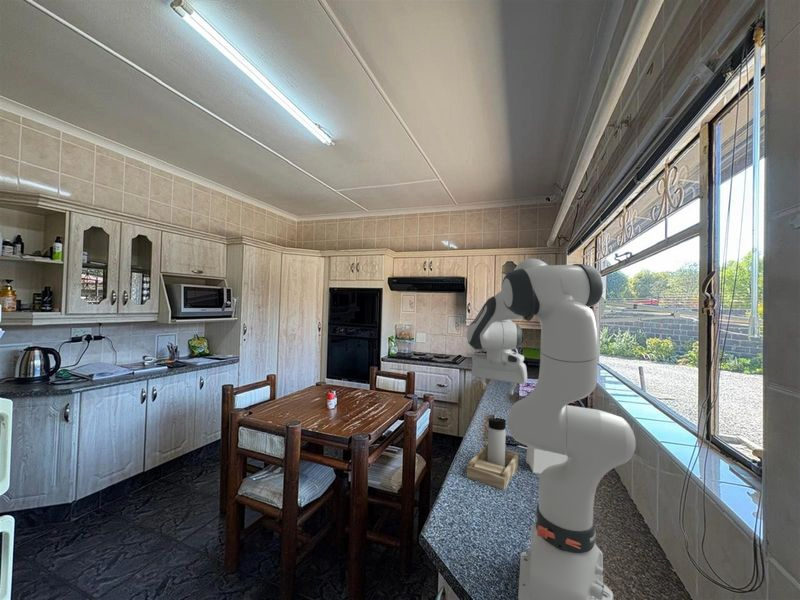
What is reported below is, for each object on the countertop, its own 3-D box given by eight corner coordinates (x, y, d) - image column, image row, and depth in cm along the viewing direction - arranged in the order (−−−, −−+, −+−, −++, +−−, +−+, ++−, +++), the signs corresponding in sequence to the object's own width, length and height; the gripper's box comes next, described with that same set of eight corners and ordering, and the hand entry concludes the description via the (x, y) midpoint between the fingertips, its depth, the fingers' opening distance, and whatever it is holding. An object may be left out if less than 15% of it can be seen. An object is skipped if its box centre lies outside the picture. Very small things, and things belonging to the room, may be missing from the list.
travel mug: (492, 477, 114) (494, 421, 114) (484, 468, 120) (485, 415, 121) (508, 476, 115) (509, 421, 116) (499, 467, 122) (500, 414, 122)
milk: (558, 464, 125) (559, 398, 125) (568, 480, 113) (569, 407, 114) (526, 461, 127) (527, 396, 127) (532, 476, 116) (534, 405, 116)
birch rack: (504, 494, 104) (504, 472, 104) (466, 481, 111) (467, 460, 111) (517, 471, 119) (518, 452, 119) (484, 461, 126) (484, 443, 126)
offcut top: (500, 479, 107) (500, 473, 107) (474, 471, 111) (474, 466, 111) (503, 472, 111) (503, 467, 111) (477, 466, 115) (477, 460, 115)
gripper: (469, 352, 122) (468, 388, 122) (524, 359, 110) (523, 398, 110) (475, 351, 127) (474, 385, 127) (528, 357, 116) (528, 394, 115)
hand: (497, 391), depth 118 cm, fingers open, 8 cm apart
